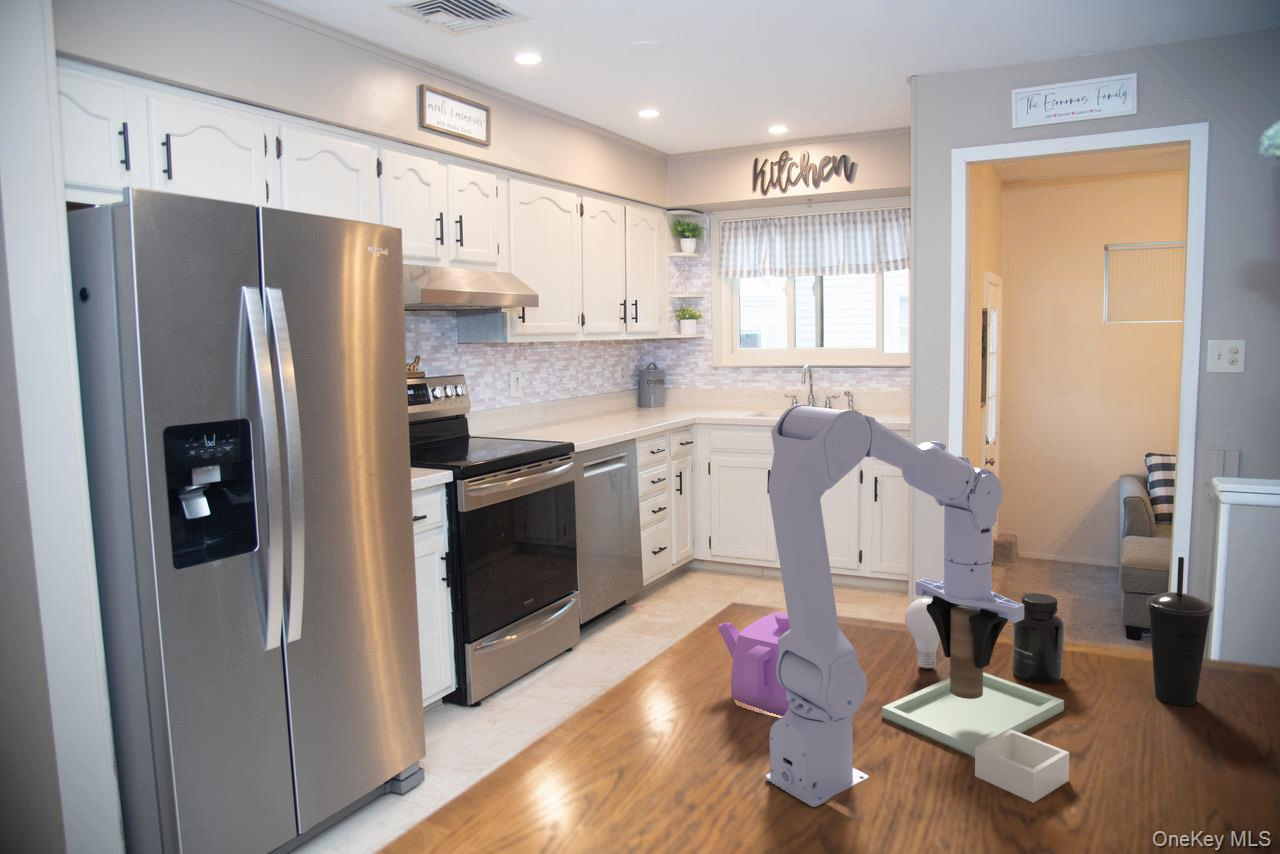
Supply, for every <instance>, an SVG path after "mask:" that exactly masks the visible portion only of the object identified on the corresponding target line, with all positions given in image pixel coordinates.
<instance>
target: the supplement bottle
mask: <svg viewBox="0 0 1280 854" xmlns="http://www.w3.org/2000/svg"><path fill="white" fill-rule="evenodd" d="M1021 604H1024V619H1023V620H1021V621H1019V622H1016V623H1014V622H1012V623H1013V627H1012V628H1013V629H1012V653H1011V655H1012V658H1011V659H1012V660H1011V670H1012V673H1013V674H1014V676H1015V677H1017V678H1018V679H1020V680H1022V681H1025V682H1028V683H1031V684H1032V683H1033V684H1037V685H1051V684H1055V683H1057V682H1059V681H1060V680H1061V679H1062V677H1063V668H1064V667H1063V665H1064V663H1063V662H1064V641H1065V640H1064V638H1065V623H1064V621H1063V620H1062V618H1061V617H1060V616H1059V615H1057V614H1058V612H1059V608H1058V598H1057V597H1055V596H1052V595H1050V594H1045V593H1037V592H1031V593H1029V592H1028V593H1025V594H1023V595H1021Z"/></svg>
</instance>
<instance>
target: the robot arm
mask: <svg viewBox="0 0 1280 854" xmlns="http://www.w3.org/2000/svg"><path fill="white" fill-rule="evenodd" d="M770 433H771V439H772V446H773V458H772V463H771V469H770V472H769V477H768V478H769V479H768V484H767V485H768V496H769V498H768V499H769V502H770V509H771V515H772V522H773V528H774V534H775V542H776V548H777V553H778V561H779V567H780V572H781V581H782V586H783V592H784V598H785V605H786V612H787V613H788V619H789V625H790V629H789V630H788V631H786V632H785V633H784V634H783V635H782V636H781V637H780V638H779V639H778V645H779V656H778V661H777V665H776V675H777V679H778V681H779V683H780V685H781V686H782V687H783V688H785V689H786V699H787V700H788V701H789V704H790V705H789V708H788V710H787V712H786V713H785V714H784V716H783V717H782V718H780V719H779V718H778V719H777V720H776V721H775V722H774V723H773V724H772V725H771V727H770V730H769V770H770V771H769V773H767V774H765V779H766V778H767V781H768V780H769V781H770V783H771V782H772V783H771V784H773V785H774V784H775V786H776V787H778V788H779V787H780V788H779V789H781V790H783V791H784V790H785V792H786V793H788V794H790V795H791V796H793V797H795V798H796V799H798V800H800V801H801V802H803V803H805V804H807V805H809V806H810V807H812V808H817V807H818V806H820V805H822V804H825V803H826V802H828V801H830V800H832V798H831V797H834V796H836V795H837V794H840V793H841V792H844V791H845V790H847V789H849V788H851V787H853V786H855V785H858V784H859V783H861V782H863V781H865V780H868V779H869V778H870V776H869V775H868V774H866V773H864V772H862V771H860V770H858V769H857V768H856V767H855V768H854V766H853V761H854V760H853V757H854V755H853V753H854V752H853V716H854V715H856V714H857V711H858V710H859V709H860V708H861V706H862V704H863V702H864V700H865V698H866V694H867V689H868V681H867V680H868V679H867V675H866V674H865V671H864V670H863V669H862V667H861V666H860V665H859V661H858V658H857V651H856V649H855V648H854V646H853V644H852V643H851V642H850V640H849V639H848V638H847V637H846V636H845V635H844V633H843V632H842V630H841V629H840V626H839V620H838V613H837V606H836V598H835V591H834V586H833V578H832V571H831V565H830V558H829V552H828V550H829V549H828V542H827V538H826V537H827V536H826V530H825V525H824V524H825V523H824V516H823V510H822V509H823V508H822V504H821V499H822V497H823V495H824V494H825V493H826V491H828V490H831V489H832V488H833V487H834V486H835V485H837V484H838V483H839V482H840V481H841V480H842V479H844V477H845V476H847V475H848V474H849V473H850V472H851V471H852V470H853V469H855V468H856V467H857V466H858V465H859V464H860V463H861V462H862V461H863V460H864V458H872V457H873V458H875V459H877V460H880V461H882V462H884V463H886V464H888V465H891V466H893V467H895V468H897V469H900V470H901V474H902V475H901V476H902V478H903V480H904V482H905V483H906V484H907V485H909V486H911V487H913V488H915V489H916V490H919V491H920V492H923V493H925V494H927V495H929V496H931V497H933V498H934V499H935V501H936V504H938V506H940V507H942V506H943V507H944V512H943V513H944V515H943V516H944V517H943V518H944V519H943V520H944V522H943V523H944V524H943V525H944V527H943V531H944V532H943V533H944V534H943V535H944V536H943V539H944V540H943V581H942V580H934V579H930V578H926V577H924V578H921V579H919V580H916V581H915V596H919V597H924V596H927V597H928V598H932V599H933V601H932V603H930V604H927V607H926V609H927V612H928V613H929V615H930V616H931V618H932V620H933V622H934V624H935V626H936V628H937V631H938V634H939V637H940V642H941V643H940V644H941V646H942V651H943V655H944V657H945V658H947V659H948V658H949V659H950V617H951V608H952V607H955V606H965V607H968V608H972V609H975V610H979V611H980V614H976V615H973V616H970V617H969V621H970V624H971V628H972V632H973V637H974V661H975V667H977V668H980V669H981V668H983V669H984V668H985V667H988V666H990V664H991V659H992V655H993V653H994V650H995V649H994V648H995V646H996V644H997V641H998V639H999V636H1000V634H1001V633H1002V631H1003V629H1004V627H1005V626H1006V624H1007V623H1008V622H1011V623H1013V622H1014V623H1016V622H1019V621H1021V620H1023V619H1024V604H1022V602H1021V603H1020V602H1019V601H1018V602H1017V601H1015V600H1012V599H1010V598H1008V597H1005V596H1003V595H1000V594H999V593H997V592H994V591H992V570H993V569H992V559H993V558H992V557H993V527H995V525H996V522H997V518H998V517H997V516H998V515H997V514H998V511H999V508H1000V506H1001V504H1002V501H1003V499H1004V495H1005V493H1004V492H1005V489H1004V488H1002V483H1001V481H1000V479H999V477H998V476H996V474H995V473H994V472H993V471H992V470H990V469H987V468H981V467H976V466H973V465H972V464H970V459H969V458H967V457H965V456H956V455H954V454H952V453H950V452H949V451H947V450H946V448H947V445H946V444H945V443H943V442H941V441H933V440H931V441H930V442H927V441H926V442H920V443H917V444H914V443H912V442H910V441H909V440H908V439H906V438H904V437H903V436H901V435H899V434H898V433H896V432H895V431H893V430H891V429H890V428H888V427H887V426H885V425H883V424H882V423H880V422H879V421H877V420H876V418H875V417H872V416H870V415H866V414H863V413H861V412H859V410H855V409H850V408H848V409H836V408H835V409H834V408H827V407H816V406H810V405H808V404H802V403H798V404H793V405H792V406H790V407H788V408H787V409H786V410H785V411H784V412H783V413H782V414H781V416H780V417H779V419H778V420H777V422H776V423H775V425H774V426H773V428H771V430H770ZM851 644H852V645H851ZM769 781H768V782H769Z"/></svg>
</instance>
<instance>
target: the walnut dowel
mask: <svg viewBox="0 0 1280 854" xmlns="http://www.w3.org/2000/svg"><path fill="white" fill-rule="evenodd" d="M976 614H980V611H979V610H975V609H972V608H968V607H965V606H955V607H952V608H951V617H950V658H949V660H950V662H949V663H950V665H949V667H950V668H949V676H950V677H949V678H950V692H951V693H952V694H953V695H955V696H957V697H960V698H965V699H976V698H979V697H981V696H982V695H983V672H984V668H981V669H980V668H977V667H975V661H974V637H973V632H972V628H971V624H970V621H969V617H970V616H973V615H976Z"/></svg>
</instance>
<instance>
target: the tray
mask: <svg viewBox="0 0 1280 854" xmlns="http://www.w3.org/2000/svg"><path fill="white" fill-rule="evenodd" d="M1064 711H1065V700H1064V699H1061V698H1059V697H1056V696H1053V695H1051V694H1048V693H1045V692H1042V691H1039V690H1036V689H1033V688H1030V687H1027V686H1025V685H1021V684H1019V683H1015V682H1012V681H1010V680H1006V679H1004V678H1001V677H997V676H996V675H993V674H989V673H987V672H984V671H983V695H982V696H981V697H979V698H976V699H965V698H960V697H957V696H955V695H953V694H952V693H951V692H950V677H948V678H946V679H945V678H944V679H943V680H941V681H939V682H936V683H934V684H931V685H929V686H927V687H924V688H923V689H920V690H917V691H915V692H913V693H911V694H908V695H906V696H904V697H901V698H899V699H896V700H895V701H892V702H890V703H888V704H885V705H883V706H881V718H882V719H885V720H887V721H890V722H892V723H894V724H896V725H898V726H901V727H903V728H905V729H907V730H910V731H912V732H914V733H917V734H919V735H921V736H924V737H926V738H928V739H930V740H933V741H934V742H938V743H940V744H942V745H944V746H946V747H949V748H951V749H953V750H956V751H958V752H960V753H962V754H965V755H966V756H969V757H972V758H973V759H975V748H976V747H978V746H980V745H982V744H984V743H986V742H988V741H989V740H991V739H993V738H995V737H997V736H999V735H1001V734H1003V733H1005V732H1007V731H1008V730H1010V729H1011V730H1014V731H1016V732H1019V733H1022V734H1024V732H1026V731H1028V730H1030V729H1032V728H1033V727H1035V726H1037V725H1039V724H1041V723H1044V722H1045V721H1047V720H1049V719H1051V718H1052V717H1054V716H1056V715H1058V714H1060V713H1061V712H1064Z"/></svg>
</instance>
